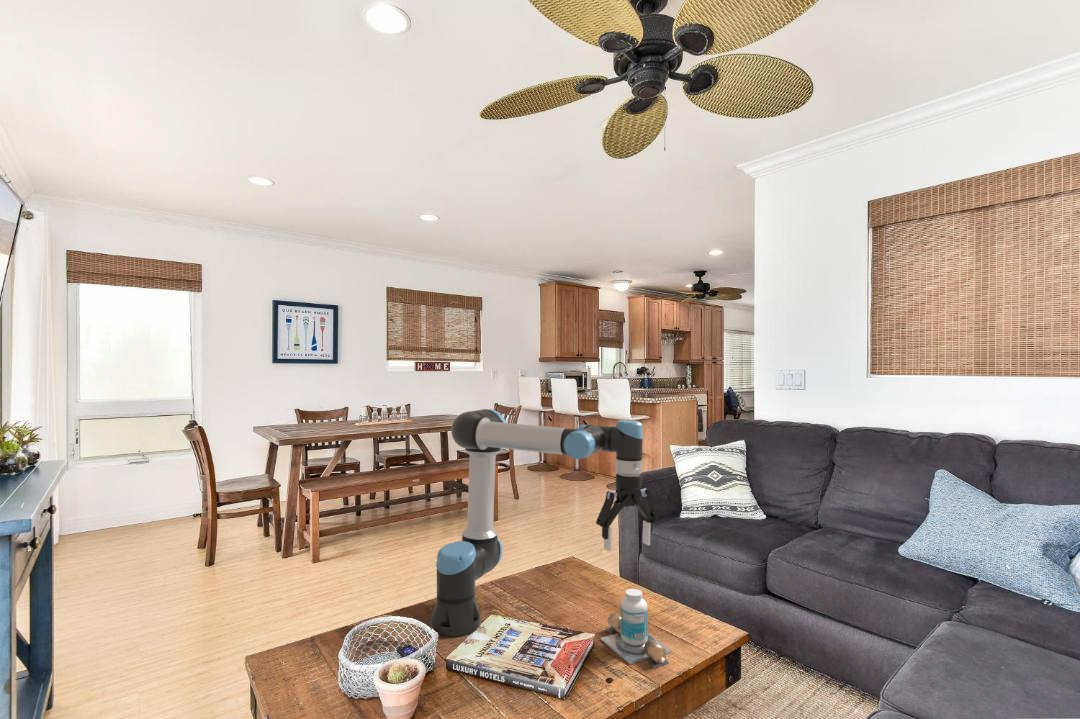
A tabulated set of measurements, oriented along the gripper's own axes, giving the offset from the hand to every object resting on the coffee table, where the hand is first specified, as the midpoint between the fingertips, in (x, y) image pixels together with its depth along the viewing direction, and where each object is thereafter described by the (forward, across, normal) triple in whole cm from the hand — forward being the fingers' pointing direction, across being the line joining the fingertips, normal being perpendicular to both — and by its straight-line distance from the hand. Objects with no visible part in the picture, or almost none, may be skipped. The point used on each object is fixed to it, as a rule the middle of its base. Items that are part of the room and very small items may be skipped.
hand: (627, 546), depth 152 cm
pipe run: (+26, 0, -5) cm, 27 cm away
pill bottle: (+25, 0, -4) cm, 25 cm away
